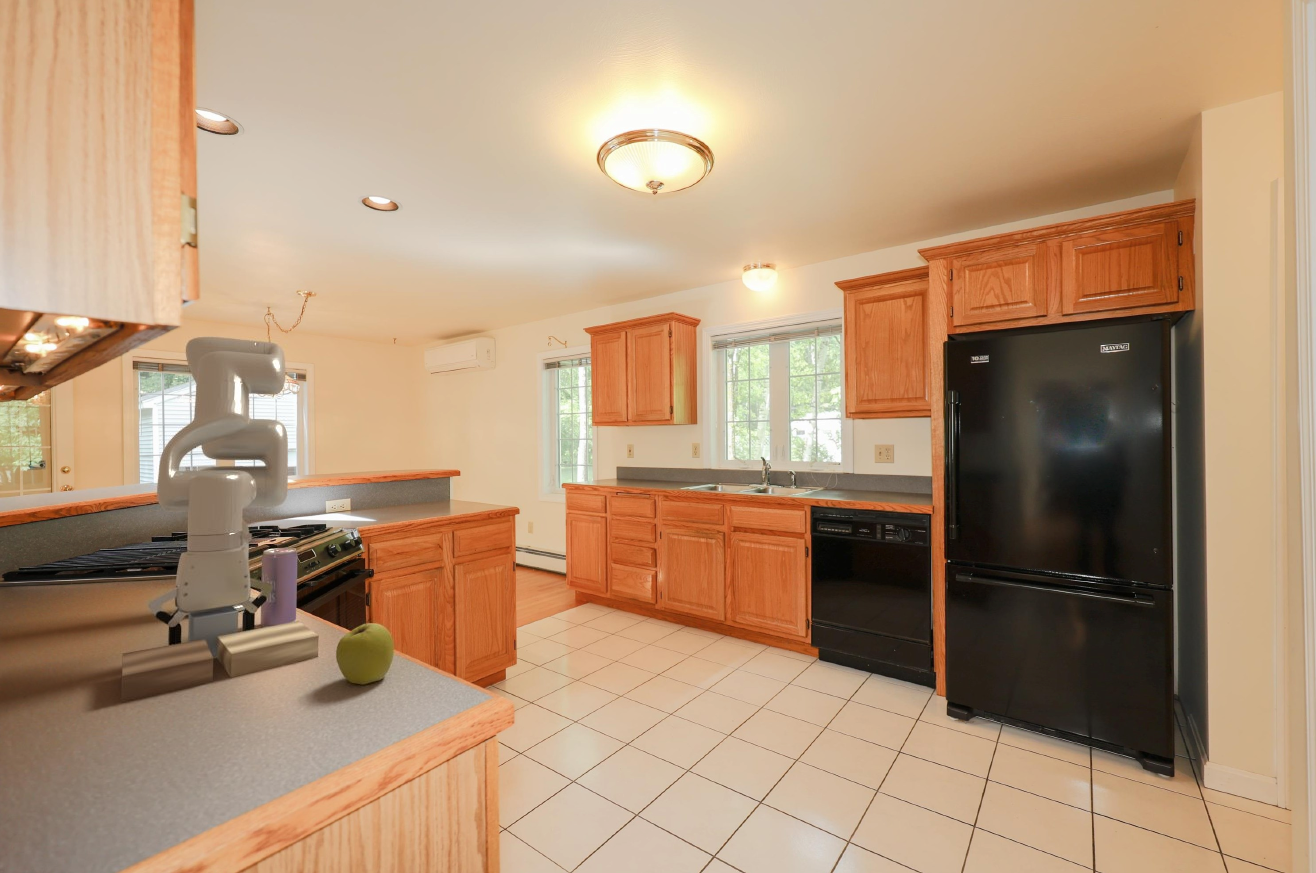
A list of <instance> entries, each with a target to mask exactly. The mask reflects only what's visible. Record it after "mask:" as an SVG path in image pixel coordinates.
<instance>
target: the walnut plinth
mask: <svg viewBox="0 0 1316 873" xmlns="http://www.w3.org/2000/svg"><path fill="white" fill-rule="evenodd" d="M121 663H122V664H121V703H124V702H129V701H133V700H134V701H135V700H139V699H143V698H148V697H152V696H157V695H161V694H165V693H171V692H174V691H175V692H176V691H179V690H184V689H189V688H194V687H198V686H201V685H206V684H211V683H213V680H214V679H213V678H214V677H213V676H214V657H213V656H212V654H211V652H210V650H209V647H208V645H207V643H206V640H205V639H202V640H197V641H191V642H188V641H187V642H181V643H180V644H174V645H169V644H168V645H162V646H157V647H152V648H146V649H140V650H135V651H134V650H133V651H130V652H129V651H128V652H123V653H122V658H121Z"/></svg>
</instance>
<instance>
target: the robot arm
mask: <svg viewBox="0 0 1316 873" xmlns="http://www.w3.org/2000/svg"><path fill="white" fill-rule="evenodd" d="M185 358H186V362H187V365H188V368H189V370H190V374H191V376H192V378H193V380H194V382H195V401H194V416H193V420H192V421H191V422H190V423H188V424H187V425H186V426H184V427H182V428H181V429H180V430H179V431H177V432H176V433H175V434H174V435H173V436H172V437H171V439H169V441H168V442H167V444H166V445H165V447H164V449H163V450H162V452H161V456H160V459H159V465H158V466H159V467H158V473H157V474H158V475H157V486H156V488H157V489H156V495H157V496H156V497H157V502H158V504H159V506H160V507H161V508H162V509H163V510H164V511H167V512H171V513H187V514H188V515H187V547H186V548H187V551H185V552H182V553H180V556H179V560H178V565H177V571H176V578H175V587H174V588H172V589H170V590H168V591H166V592H164V593H162V594H160V595H159V596H156V597H155V598H153V599H151V600H148V602H147V604H146V606H147V607H148V608H149V611H151V612H152V614H153V615H154V616H155V618H156V619H157V620H159V622H162V623H164V624H165V625H167V626H168V635H167V636H168V640H167V642H168V645H174V644H180V643H182V625H181V623H180V622H181V621H182V620H183V619H184V618H185V617H186V616H187V617H189V613H192V612H199V611H206V610H212V609H218V608H225V607H231V606H233V607H234V608H235V609H236V610H237V611H238V612H242V618H241V619H242V624H241V625H242V626H241V627H242V629H241V632H243V631H249V630H254V629H255V627H256V626H255V625H256V624H255V623H256V622H255V619H256V617H255V616H256V613H257V611H258V609H260V608H261V605H262V604H263V603H264V602H265V601H266V600H267V597H268V596H269V594H270V593H271V591H272V589H273V586H272V585H271V584H268V583H265V582H262V580H257V579H255V578H251V573H250V572H251V571H250V562H249V549H250V548H249V547H250V546H249V545H250V543H249V542H250V541H252V539H253V538H252V537H253V534H252V533H250V530H249V529H250V528H249V526H248V523H247V522H246V520H244V519H243V510H244V509H256V508H271V507H272V508H273V507H278V506H281V505H282V504H283V503H285V501H286V498H287V496H288V486H289V485H288V481H289V478H288V477H289V476H288V474H289V473H288V471H289V467H288V466H289V465H288V464H289V457H288V455H289V453H288V452H289V444H288V443H289V441H288V433H287V429H286V427H285V425H284V423H282V422H280V421H279V420H276V419H268V418H267V419H264V418H251V417H250V394H254V395H269V396H270V395H274V396H275V395H278V394H280V393H281V392H282V391H283V389H284V387H285V382H286V377H287V376H286V358H285V354H284V351H283V349H282V347H281V346H280V345H279V344H278V343H274V342H270V341H269V342H268V341H260V340H259V341H258V340H250V339H249V340H248V339H241V338H231V337H219V336H199V337H194V338H192V339H189V340H188V342H187V344H186V346H185ZM200 446H201V452H202V453H203V455H204V456H205V457H206V458H208V459H211V460H216V461H218V460H220V461H261V462H263V463H264V465H252V466H251V465H244V466H243V465H228V466H227V465H221V466H210V467H206V468H203V469H200V470H180V466H181V462H182V460H183V459H184V457H185V456H186V455H187V454H189V453H190V452H191V451H193V450H194V449H196V448H198V447H200ZM251 587H252V588H255V589H258V590H260V592H259V595H258V596H256V597H252V596H251ZM173 599H174V605H175V607H176V609H175V610H173V612H172V613H171V614H169V613H168V612H166V611H164V609H163V608H162V605H164V604H165V603H167V602H169V601H171V600H173Z"/></svg>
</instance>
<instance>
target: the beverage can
mask: <svg viewBox="0 0 1316 873" xmlns="http://www.w3.org/2000/svg"><path fill="white" fill-rule="evenodd" d="M262 553H263V554H262V557H261V581H262V582H265V583H268V584H271V585H272V586H273V589H272V591H271V593H270V594H269V596H268V597H267V600H266V601H265V602H264V603H263V604H262V605H261V606H260V625H261V626H262V628H264V627H270V626H275V625H280V624H286V623H291V622H296V619H297V598H298V597H297V594H298V593H297V590H298V589H297V588H298V587H297V586H298V585H297V584H298V552H297V548H295V547H278V548H270V549H266V550H263V552H262Z"/></svg>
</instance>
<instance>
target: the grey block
mask: <svg viewBox="0 0 1316 873" xmlns="http://www.w3.org/2000/svg"><path fill="white" fill-rule="evenodd" d="M187 631H188V633H187V642H191V641H197V640H202V639H205V640H206V643H207V645H208V647H209V650H210V652H211V654H212V656H213V658H214V657H217V636H222V635H227V634H233V633H238V631H239V611H237V610H236V609H235V608H234V607H233V606H231V607H225V608H218V609H212V610H206V611H199V612H192V613H189V616H188V629H187Z"/></svg>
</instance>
